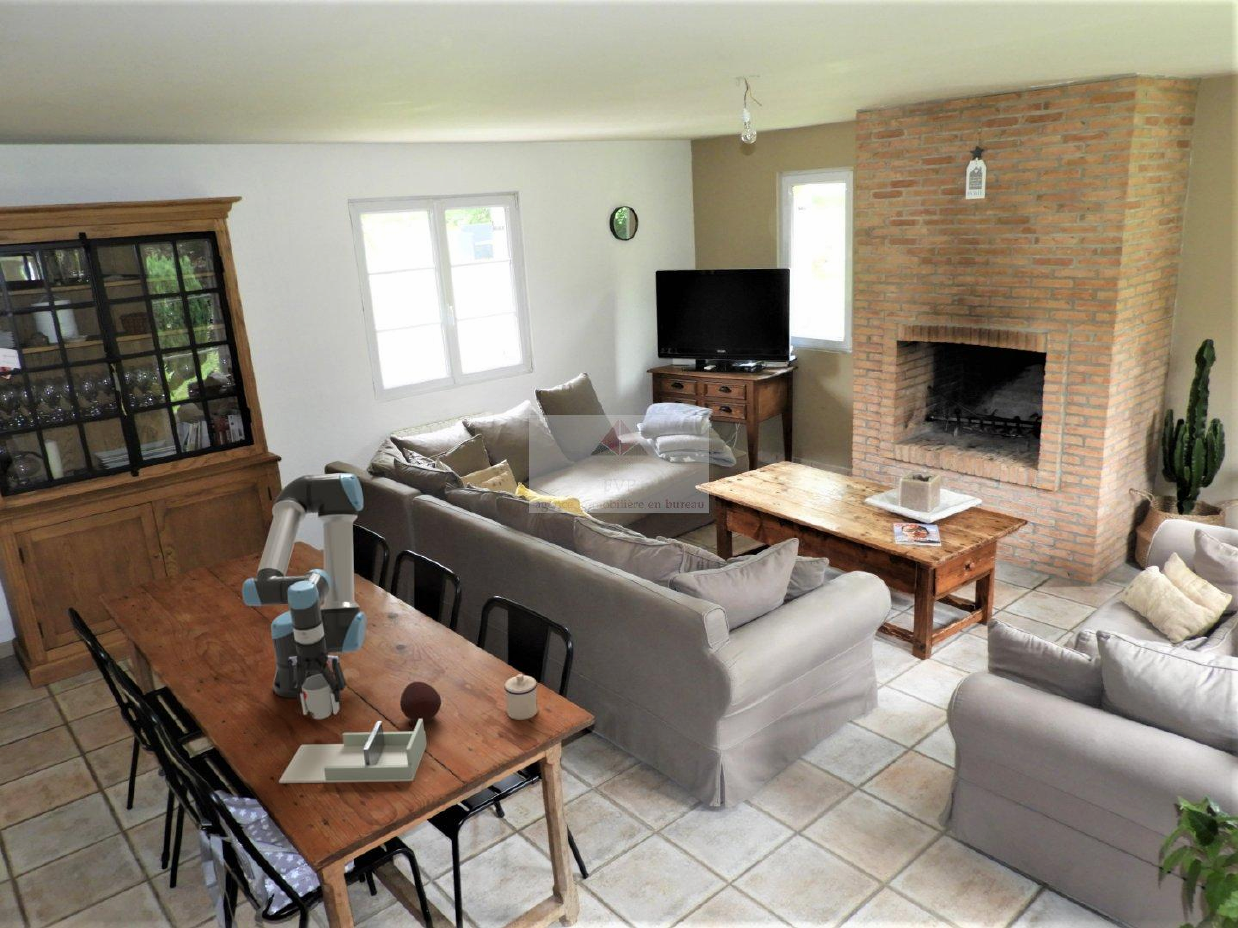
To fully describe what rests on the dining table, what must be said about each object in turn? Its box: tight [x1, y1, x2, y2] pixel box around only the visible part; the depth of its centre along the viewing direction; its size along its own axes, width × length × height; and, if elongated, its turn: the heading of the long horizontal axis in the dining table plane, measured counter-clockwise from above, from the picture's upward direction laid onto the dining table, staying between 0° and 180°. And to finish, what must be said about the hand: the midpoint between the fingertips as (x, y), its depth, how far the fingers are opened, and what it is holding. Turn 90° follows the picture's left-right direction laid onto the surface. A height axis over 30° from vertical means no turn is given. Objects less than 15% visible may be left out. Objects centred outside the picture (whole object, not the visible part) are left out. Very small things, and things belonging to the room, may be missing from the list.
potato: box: [399, 681, 442, 724], centre depth 252 cm, size 11×13×10 cm
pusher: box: [363, 720, 385, 765], centre depth 233 cm, size 1×13×8 cm, turn 178°
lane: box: [278, 719, 428, 784], centre depth 233 cm, size 34×16×9 cm, turn 89°
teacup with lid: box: [503, 673, 539, 721], centre depth 254 cm, size 12×9×12 cm
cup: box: [301, 674, 333, 720], centre depth 246 cm, size 8×8×10 cm
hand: (321, 711), depth 247 cm, fingers closed on cup, 8 cm apart
